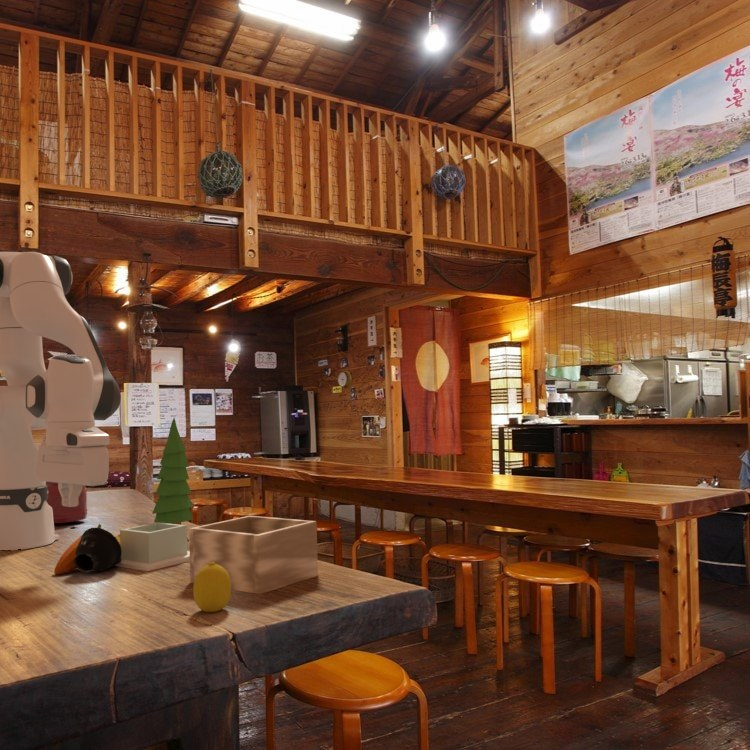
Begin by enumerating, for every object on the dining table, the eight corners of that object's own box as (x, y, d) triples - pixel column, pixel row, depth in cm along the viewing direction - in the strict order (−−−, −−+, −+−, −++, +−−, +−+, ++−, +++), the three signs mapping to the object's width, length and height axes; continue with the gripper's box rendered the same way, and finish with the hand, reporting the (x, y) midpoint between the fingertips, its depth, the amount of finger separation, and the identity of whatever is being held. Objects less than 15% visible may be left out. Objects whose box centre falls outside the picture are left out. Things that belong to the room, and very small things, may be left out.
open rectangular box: (104, 565, 137) (103, 530, 137) (160, 551, 149) (159, 520, 149) (147, 572, 129) (146, 536, 130) (203, 557, 141) (202, 524, 141)
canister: (30, 524, 195) (29, 463, 196) (58, 516, 208) (57, 460, 209) (70, 524, 193) (69, 462, 194) (96, 516, 206) (95, 459, 207)
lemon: (197, 611, 102) (196, 559, 103) (234, 609, 103) (232, 557, 103) (190, 623, 97) (189, 567, 97) (229, 620, 97) (227, 565, 98)
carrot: (55, 558, 126) (105, 518, 140) (39, 567, 128) (90, 526, 141) (71, 579, 127) (119, 537, 140) (54, 588, 128) (103, 545, 142)
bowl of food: (79, 534, 123) (133, 489, 140) (47, 564, 127) (103, 517, 144) (114, 570, 124) (163, 520, 141) (82, 598, 128) (133, 547, 145)
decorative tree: (176, 546, 154) (173, 416, 155) (143, 545, 157) (140, 417, 159) (201, 538, 163) (198, 415, 164) (169, 537, 166) (166, 416, 168)
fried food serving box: (190, 585, 118) (189, 528, 119) (250, 566, 131) (249, 515, 131) (259, 597, 109) (258, 535, 109) (318, 576, 121) (316, 521, 122)
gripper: (27, 436, 136) (26, 504, 135) (85, 437, 125) (84, 512, 124) (56, 434, 141) (56, 500, 141) (115, 436, 130) (114, 507, 129)
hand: (70, 506), depth 132 cm, fingers closed
